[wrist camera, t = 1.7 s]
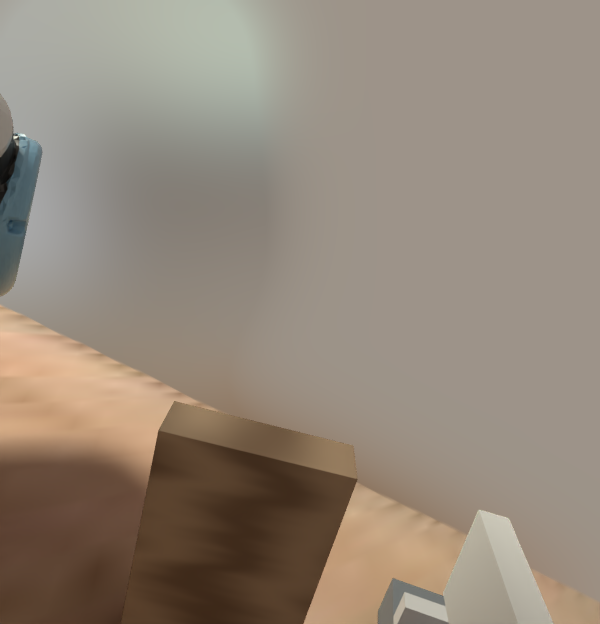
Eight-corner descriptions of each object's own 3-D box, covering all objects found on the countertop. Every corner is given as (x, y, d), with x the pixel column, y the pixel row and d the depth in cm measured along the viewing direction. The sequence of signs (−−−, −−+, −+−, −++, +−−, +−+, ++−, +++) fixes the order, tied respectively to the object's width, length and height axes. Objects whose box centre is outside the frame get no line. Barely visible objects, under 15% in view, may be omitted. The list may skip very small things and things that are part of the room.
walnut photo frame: (115, 649, 26) (158, 430, 21) (133, 604, 28) (175, 399, 23) (280, 684, 26) (357, 479, 22) (283, 638, 29) (353, 444, 24)
